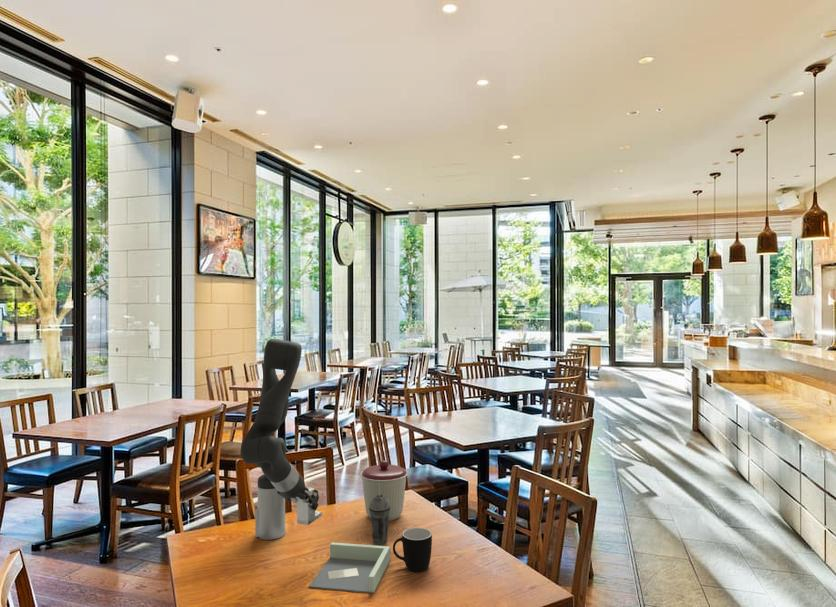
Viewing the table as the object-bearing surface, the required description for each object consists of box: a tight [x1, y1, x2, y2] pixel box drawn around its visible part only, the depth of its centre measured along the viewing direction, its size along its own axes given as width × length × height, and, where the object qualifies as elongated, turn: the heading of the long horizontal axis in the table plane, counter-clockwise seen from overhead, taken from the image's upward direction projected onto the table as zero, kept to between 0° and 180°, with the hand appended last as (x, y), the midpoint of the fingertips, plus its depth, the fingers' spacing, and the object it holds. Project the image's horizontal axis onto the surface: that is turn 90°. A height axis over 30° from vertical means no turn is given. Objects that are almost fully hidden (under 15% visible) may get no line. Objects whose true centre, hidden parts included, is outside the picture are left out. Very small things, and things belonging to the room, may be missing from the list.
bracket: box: [296, 486, 323, 526], centre depth 164 cm, size 8×4×10 cm, turn 158°
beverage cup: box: [369, 483, 390, 546], centre depth 176 cm, size 7×7×20 cm
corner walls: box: [329, 541, 391, 594], centre depth 155 cm, size 19×19×4 cm
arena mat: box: [308, 557, 391, 594], centre depth 154 cm, size 19×19×1 cm
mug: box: [392, 527, 433, 573], centre depth 158 cm, size 12×9×10 cm
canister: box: [359, 459, 409, 522], centre depth 198 cm, size 18×18×21 cm
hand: (309, 506), depth 164 cm, fingers closed on bracket, 4 cm apart
